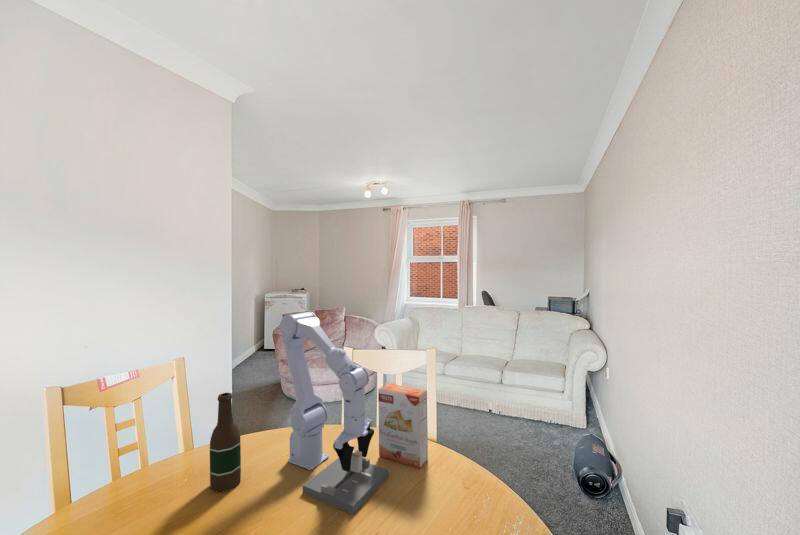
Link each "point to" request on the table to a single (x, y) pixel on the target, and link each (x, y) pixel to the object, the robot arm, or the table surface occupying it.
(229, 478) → the beer bottle
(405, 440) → the cracker box
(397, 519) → the table surface
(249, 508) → the table surface
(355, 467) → the fader tab
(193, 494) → the table surface
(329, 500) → the console
